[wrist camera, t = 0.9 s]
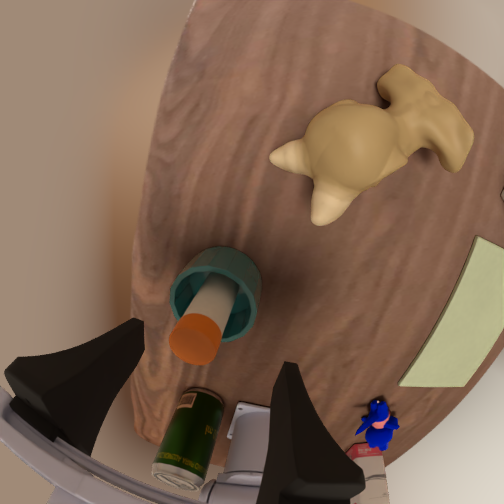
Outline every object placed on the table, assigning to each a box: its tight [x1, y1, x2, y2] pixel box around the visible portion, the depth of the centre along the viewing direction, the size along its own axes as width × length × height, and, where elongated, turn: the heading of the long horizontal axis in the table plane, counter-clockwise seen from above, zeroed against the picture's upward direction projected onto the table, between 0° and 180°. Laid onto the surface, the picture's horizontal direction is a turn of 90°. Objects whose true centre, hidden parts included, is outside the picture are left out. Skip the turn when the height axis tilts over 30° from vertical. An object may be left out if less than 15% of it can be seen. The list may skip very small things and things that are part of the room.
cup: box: [170, 246, 262, 342], centre depth 21 cm, size 6×6×4 cm
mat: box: [398, 235, 504, 387], centre depth 21 cm, size 18×12×1 cm, turn 168°
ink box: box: [346, 443, 390, 504], centre depth 26 cm, size 9×5×12 cm, turn 171°
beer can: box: [151, 388, 224, 491], centre depth 23 cm, size 5×5×12 cm
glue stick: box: [169, 272, 239, 365], centre depth 18 cm, size 3×3×8 cm
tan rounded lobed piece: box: [269, 64, 474, 226], centre depth 14 cm, size 8×7×12 cm
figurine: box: [355, 400, 400, 451], centre depth 24 cm, size 5×8×5 cm, turn 33°
